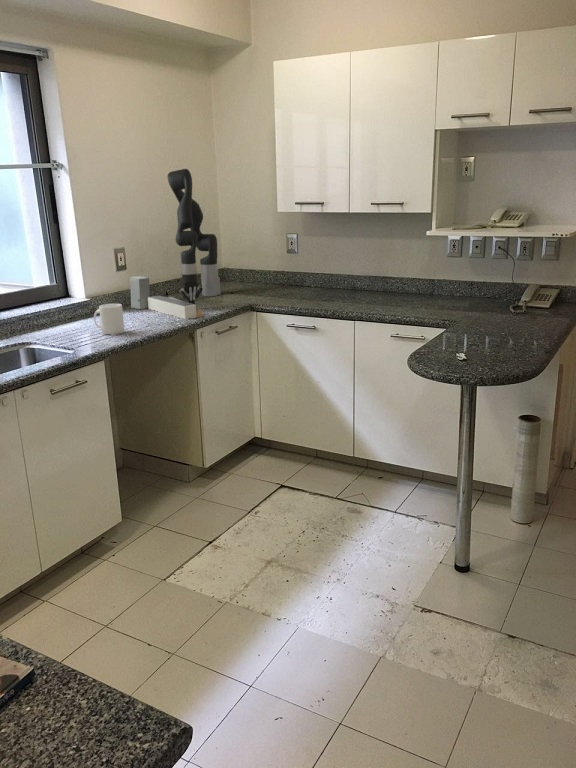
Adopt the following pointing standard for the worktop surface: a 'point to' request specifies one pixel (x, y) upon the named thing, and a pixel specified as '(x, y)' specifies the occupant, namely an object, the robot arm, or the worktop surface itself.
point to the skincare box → (139, 292)
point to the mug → (110, 318)
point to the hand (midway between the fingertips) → (192, 307)
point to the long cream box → (173, 307)
